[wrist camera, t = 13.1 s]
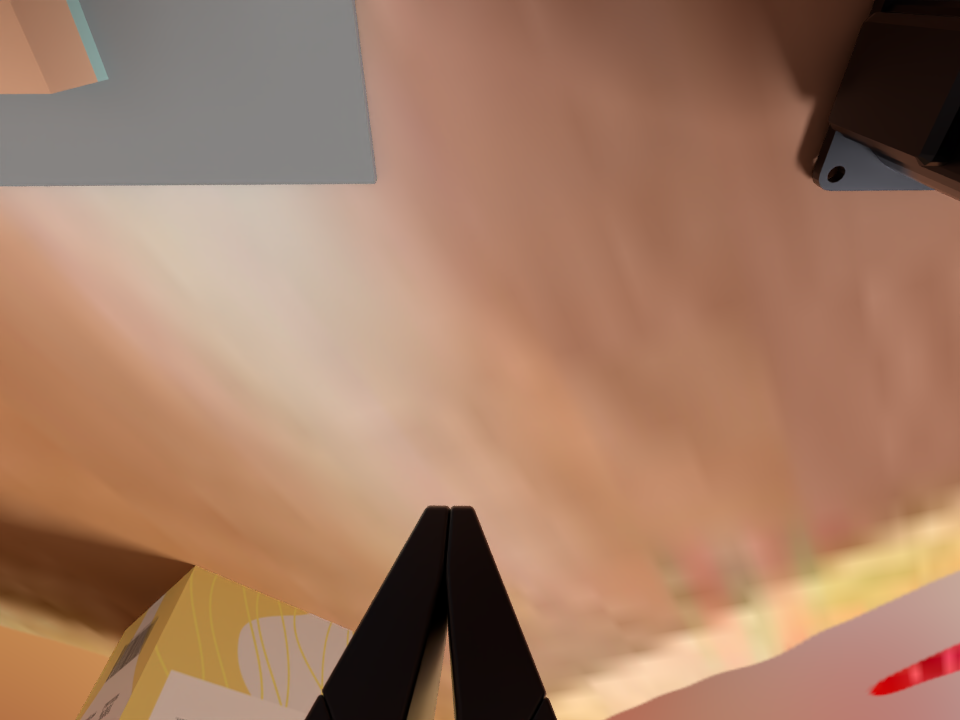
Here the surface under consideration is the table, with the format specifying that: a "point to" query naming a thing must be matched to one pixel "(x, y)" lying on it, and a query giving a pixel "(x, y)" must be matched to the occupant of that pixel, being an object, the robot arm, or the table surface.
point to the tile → (46, 47)
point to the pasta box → (217, 657)
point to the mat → (202, 100)
